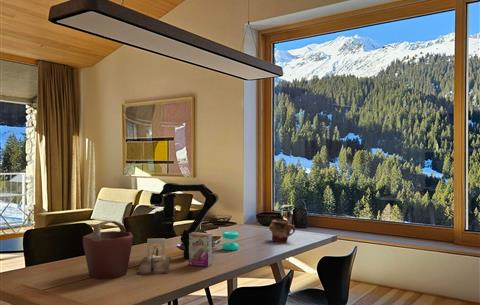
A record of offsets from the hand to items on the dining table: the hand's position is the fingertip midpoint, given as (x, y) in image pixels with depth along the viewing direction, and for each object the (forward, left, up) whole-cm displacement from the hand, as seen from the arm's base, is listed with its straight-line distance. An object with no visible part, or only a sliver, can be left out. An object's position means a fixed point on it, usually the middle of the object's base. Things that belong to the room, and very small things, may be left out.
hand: (168, 233), depth 245 cm
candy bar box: (-17, +21, -13) cm, 30 cm away
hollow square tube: (+6, +12, -12) cm, 18 cm away
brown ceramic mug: (-72, -38, -13) cm, 82 cm away
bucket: (+27, +34, -13) cm, 45 cm away
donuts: (-36, -17, -13) cm, 42 cm away
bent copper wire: (+6, +21, -12) cm, 25 cm away
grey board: (+6, +20, -13) cm, 25 cm away
